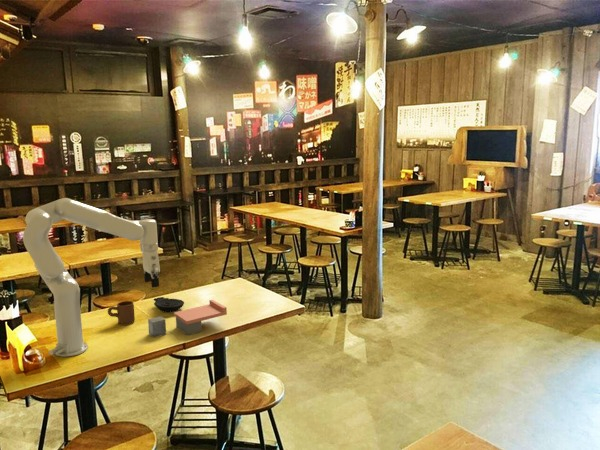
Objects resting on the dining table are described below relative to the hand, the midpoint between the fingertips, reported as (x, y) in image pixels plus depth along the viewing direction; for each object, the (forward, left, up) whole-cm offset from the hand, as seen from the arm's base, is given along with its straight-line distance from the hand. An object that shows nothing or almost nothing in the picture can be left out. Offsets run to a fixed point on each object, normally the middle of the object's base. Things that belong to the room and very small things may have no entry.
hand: (151, 284), depth 223 cm
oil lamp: (+26, +10, -22) cm, 36 cm away
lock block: (-3, -4, -22) cm, 23 cm away
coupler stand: (+11, -18, -22) cm, 30 cm away
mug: (+3, +20, -22) cm, 30 cm away
